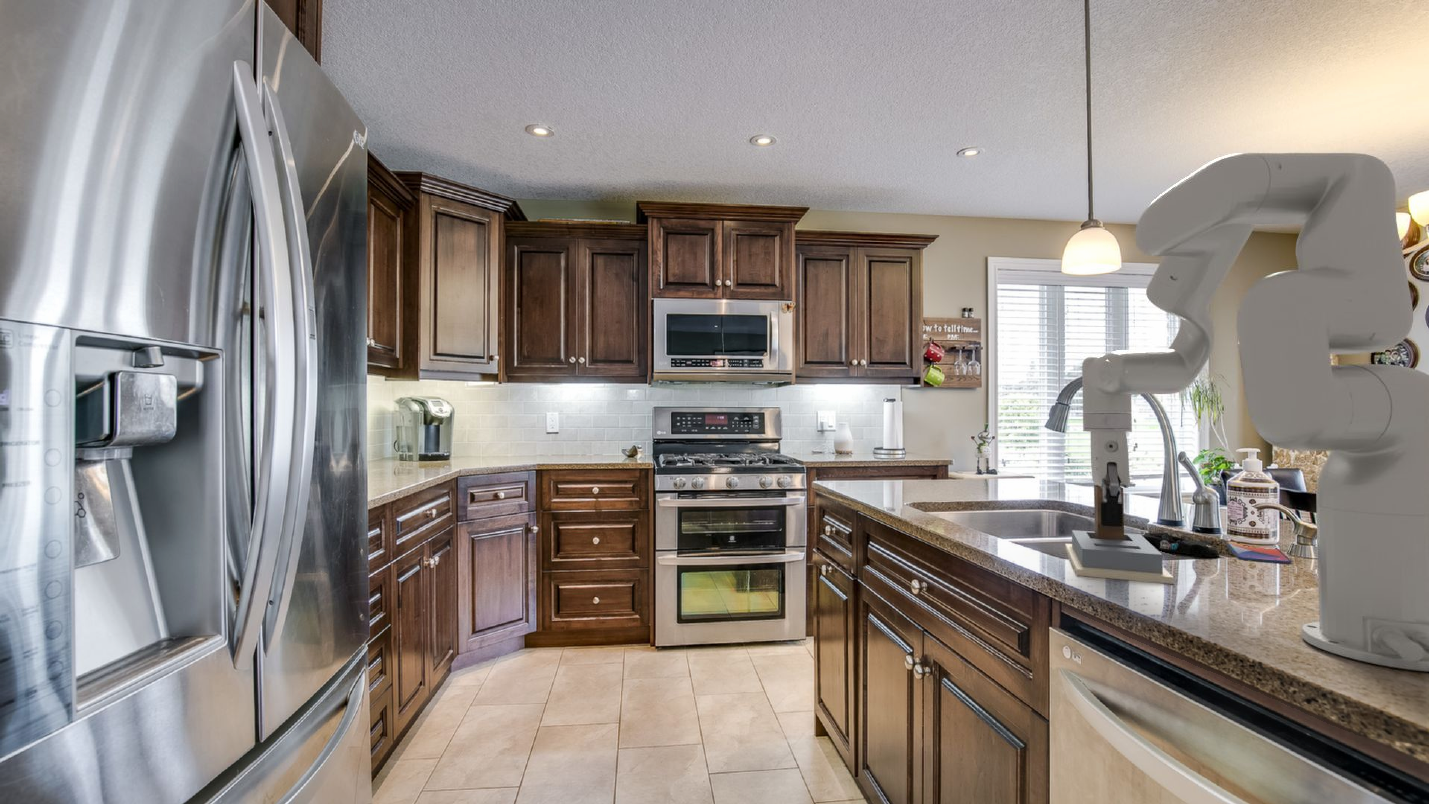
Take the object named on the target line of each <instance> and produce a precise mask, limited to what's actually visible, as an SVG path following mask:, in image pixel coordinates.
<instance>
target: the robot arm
mask: <svg viewBox="0 0 1429 804" xmlns="http://www.w3.org/2000/svg"><path fill="white" fill-rule="evenodd" d="M1396 192H1397V189H1396V182H1395V178H1394V174H1393V173H1392V170H1391V169H1390V168H1389V166H1388V165H1387V164H1386V163H1385V162H1384V161H1383V160H1382V159H1379V158H1377V157H1376V156H1373V155H1370V154H1366V153H1356V152H1281V153H1280V152H1279V153H1277V152H1275V153H1273V152H1245V153H1244V152H1242V153H1241V152H1240V153H1232V154H1228V155H1224V156H1222V157H1218V158H1216V159H1214V160H1212V161H1210V162H1208V163H1206V164H1204V165H1203V166H1202V167H1200V168H1198V169H1197V170H1196V171H1194V172H1193V173H1191V174H1189V176H1187V177H1185V178H1183V179H1181V180H1180V181H1179V182H1177V183H1176V184H1174V185H1173V186H1171V187H1170V188H1168V189H1167V190H1166V191H1164V192H1163V193H1162V194H1159V196H1157V197H1156V199H1154V200H1153V201H1152V202H1151V203H1150V204H1149V205H1148V206H1147V207H1146V208H1145V210H1144V211H1143V213H1142V214H1141V216H1140V217H1139V218H1138V219H1139V220H1138V221H1137V223H1136V224H1137V225H1136V227H1135V233H1134V237H1135V239H1134V240H1135V244H1136V247H1137V248H1138V250H1139V251H1140V252H1142V253H1143V254H1144V255H1147V256H1152V257H1162V258H1161V260H1160V262H1159V264H1158V267H1157V268H1156V270H1155V272H1154V274H1153V276H1152V277H1151V280H1150V281H1149V283H1148V285H1147V287H1146V289H1145V290H1146V293H1145V294H1146V297H1147V298H1148V299H1147V300H1149V302H1150V303H1152V305H1154V307H1156V308H1158V309H1160V310H1161V311H1164V312H1166V313H1168V314H1169V315H1172V316H1175V317H1177V318H1179V319H1180V324H1179V329H1178V332H1177V333H1176V336H1175V337H1174V340H1173V341H1172V343H1171V344H1170V346H1169V348H1168V349H1139V350H1138V349H1133V350H1132V349H1123V350H1122V349H1121V350H1115V351H1111V352H1108V353H1105V354H1101V355H1092V356H1089V357H1088V356H1087V357H1086V358H1085V359H1084V360H1083V362H1082V364H1081V377H1082V384H1081V385H1082V431H1083V432H1088V433H1089V432H1090V465H1091V466H1090V467H1091V477H1092V482H1093V483H1094V485H1095V484H1096V485H1098V486H1100V487H1101V489H1102V501H1103V503H1101V524H1102V525H1103V526H1115V527H1122V526H1123V511H1122V504H1121V503H1122V500H1121V487H1122V488H1123V489H1124V488H1125V489H1128V488H1129V487H1130V486H1131V479H1130V477H1131V476H1130V461H1129V459H1130V458H1129V447H1128V437H1127V433H1129V432H1130V433H1132V432H1133V426H1132V425H1133V424H1132V423H1133V421H1132V419H1133V417H1132V395H1135V396H1137V395H1171V394H1177V393H1180V392H1182V391H1184V390H1185V389H1187V388H1188V387H1190V385H1191V384H1192V383H1194V381H1195V380H1196V378H1197V377H1198V376H1199V374H1200V373H1201V371H1202V370H1203V369H1204V367H1205V365H1206V364H1207V362H1208V360H1209V358H1210V356H1211V354H1212V351H1213V349H1214V341H1215V328H1214V327H1215V326H1214V322H1213V319H1212V315H1211V313H1210V311H1209V306H1210V304H1211V302H1212V300H1213V299H1214V297H1215V295H1216V294H1217V292H1218V290H1219V289H1220V287H1221V285H1222V284H1223V282H1224V280H1225V279H1226V277H1227V275H1228V274H1229V272H1230V271H1231V269H1232V266H1233V265H1234V264H1235V262H1236V260H1237V258H1238V257H1239V255H1240V253H1241V251H1242V250H1243V248H1244V246H1245V244H1246V243H1247V241H1248V239H1250V236H1251V234H1252V232H1253V230H1254V228H1255V225H1273V224H1274V225H1275V224H1276V225H1277V224H1278V225H1280V224H1282V225H1283V224H1284V225H1285V224H1286V225H1287V224H1288V225H1289V224H1291V225H1292V224H1303V226H1302V228H1301V229H1300V232H1299V234H1298V237H1297V240H1296V243H1295V257H1296V261H1297V262H1296V263H1297V268H1298V269H1289V270H1282V271H1277V272H1274V273H1271V274H1269V275H1266V276H1265V277H1264V276H1263V278H1260V279H1259V280H1258V281H1256V283H1254V284H1253V285H1252V286H1251V287H1250V288H1249V289H1248V290H1247V292H1246V293H1245V295H1244V296H1243V298H1242V301H1241V302H1240V305H1239V308H1238V311H1237V316H1236V323H1235V325H1236V326H1235V327H1236V338H1237V347H1238V353H1239V361H1240V367H1241V373H1242V380H1243V387H1244V394H1245V401H1246V408H1247V413H1248V415H1249V419H1250V421H1251V424H1252V426H1253V428H1254V429H1255V431H1256V432H1257V433H1258V435H1259V436H1260V437H1261V438H1262V439H1263V440H1264V441H1266V442H1267V443H1269V444H1270V445H1272V446H1275V447H1277V448H1279V449H1283V450H1289V451H1299V452H1301V451H1302V452H1303V451H1304V452H1319V451H1320V452H1321V451H1323V452H1328V451H1329V452H1330V453H1329V454H1328V457H1327V458H1326V459H1325V462H1324V464H1323V466H1322V467H1321V469H1320V473H1319V475H1318V479H1317V483H1316V484H1317V485H1316V540H1317V541H1316V543H1317V545H1316V546H1317V575H1318V577H1317V580H1318V581H1317V583H1318V616H1319V618H1318V619H1319V620H1318V621H1314V622H1308V623H1305V624H1303V625H1302V626H1301V627H1300V631H1301V632H1300V633H1301V638H1302V639H1303V640H1304V641H1305V642H1306V643H1308V644H1309V645H1312V646H1314V647H1316V648H1318V649H1320V650H1323V651H1326V652H1328V653H1331V654H1335V655H1339V656H1341V657H1344V658H1349V659H1350V660H1351V659H1352V660H1356V661H1359V662H1364V663H1369V664H1373V665H1379V666H1384V667H1389V668H1396V669H1402V670H1410V671H1417V672H1429V374H1427V373H1426V372H1423V371H1420V370H1418V369H1416V368H1412V367H1407V366H1402V365H1395V364H1386V363H1385V364H1384V363H1383V364H1381V363H1379V364H1378V363H1377V364H1375V363H1373V364H1372V363H1369V364H1367V363H1366V364H1365V363H1364V364H1362V363H1361V364H1359V363H1358V364H1357V363H1355V364H1354V363H1353V364H1352V363H1351V364H1350V363H1347V364H1332V362H1331V361H1332V360H1331V355H1361V354H1369V353H1378V352H1381V351H1385V350H1389V349H1391V348H1394V347H1396V346H1397V345H1398V344H1401V343H1402V342H1403V341H1404V340H1406V338H1407V336H1408V335H1409V334H1410V332H1411V330H1412V327H1413V323H1414V311H1413V310H1414V309H1413V301H1412V296H1411V291H1410V286H1409V280H1408V273H1407V269H1406V264H1405V259H1404V258H1405V257H1404V252H1403V251H1404V250H1403V248H1402V243H1401V239H1400V234H1399V229H1398V222H1397V198H1396V197H1397V193H1396ZM1106 490H1107V491H1106ZM1106 494H1107V495H1106Z"/></svg>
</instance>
